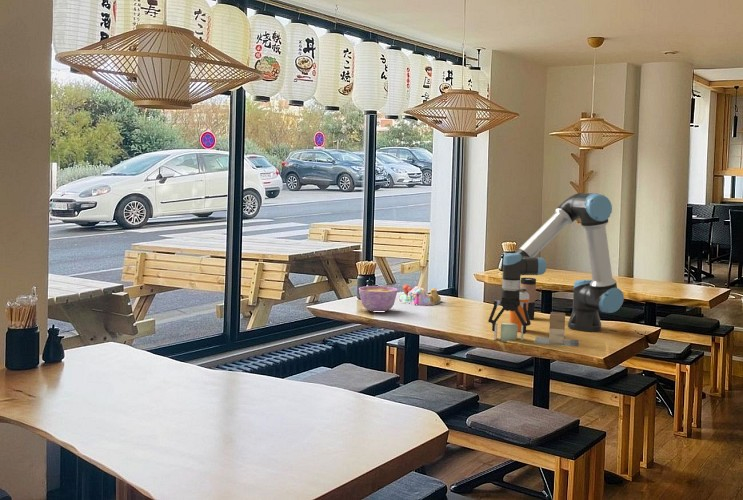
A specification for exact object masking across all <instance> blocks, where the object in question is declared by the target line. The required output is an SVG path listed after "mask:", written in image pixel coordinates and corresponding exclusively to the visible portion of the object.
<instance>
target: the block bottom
mask: <svg viewBox="0 0 743 500" xmlns="http://www.w3.org/2000/svg"><path fill="white" fill-rule="evenodd" d="M548 330H549V331H548V333H549V334H548V338H549V342H550V343H562V344H563V343H564V339H565V332H566V331H565V330H566V328H564V330H563V329H550V327H549V329H548Z"/></svg>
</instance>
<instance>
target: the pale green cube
mask: <svg viewBox="0 0 743 500" xmlns="http://www.w3.org/2000/svg"><path fill="white" fill-rule="evenodd" d="M517 327H518V325H517V324H514V323H510V322H504V323H500V339H499V340H500V341H501V342H505V343H507V342H508V341H516V340H518V332H517Z"/></svg>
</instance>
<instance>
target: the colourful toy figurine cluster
mask: <svg viewBox="0 0 743 500" xmlns="http://www.w3.org/2000/svg"><path fill="white" fill-rule="evenodd" d="M402 290H403V292H404V293H402V294H401V295H399V297H398V299H397V300H398V301H400V302H404V303H403V304H406V303H411V304H410V305H412V304H415V305H414V306H430V305H431V306H434V305H438V304H439V303H442V299H441V298H442V297H441V295H439V294H438V290H437V289H436V288H435V287H433V288H431V289H430V293H427V291H426V290H425V288H424V287H421V286H417V285H416V286H414V288H412V286H411V285H410V284H404V285H403V286H402ZM416 304H417V305H416Z"/></svg>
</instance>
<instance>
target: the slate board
mask: <svg viewBox="0 0 743 500" xmlns="http://www.w3.org/2000/svg"><path fill="white" fill-rule="evenodd" d="M533 343H534V344H540V345H553V346H564V347H577V348H578V347H579V340H578V339H568V338H564V343H563V344H562V343H550V342H549V337H543V336H535V338H534V341H533Z"/></svg>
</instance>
